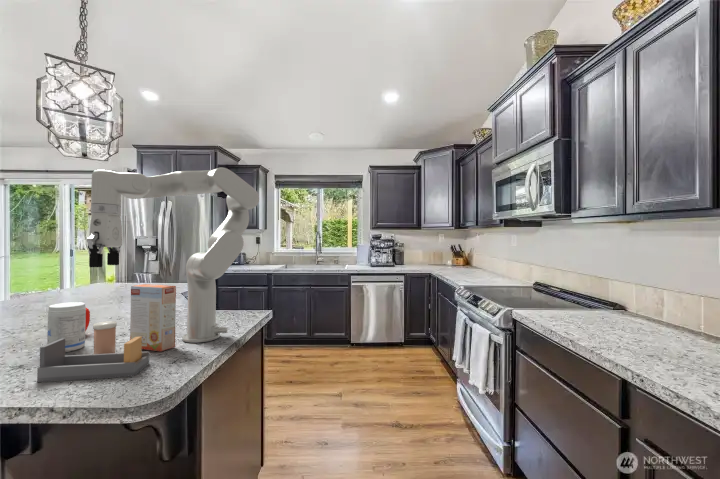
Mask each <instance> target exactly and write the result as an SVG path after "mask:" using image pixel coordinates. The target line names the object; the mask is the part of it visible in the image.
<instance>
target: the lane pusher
mask: <svg viewBox="0 0 720 479" xmlns="http://www.w3.org/2000/svg"><path fill="white" fill-rule="evenodd" d="M142 352H143V349H142V336H141V337H135V338H133V339H131V340H130V339H129V340H128V341H126V342H125V343H124V344H123V353H124V362H135V363H136V362H137V361H138V360H140V359H141V358H142Z"/></svg>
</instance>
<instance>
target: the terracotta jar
mask: <svg viewBox="0 0 720 479" xmlns="http://www.w3.org/2000/svg"><path fill="white" fill-rule="evenodd" d="M117 323H118V322H117V321H114V320H107V321H99V322H95V323H93V325H92V326H93V327H92V329H93V354H108V353H116V341H117V340H116V338H117V336H116V335H117V333H116V332H117V328H116V327H117V326H118V325H117Z"/></svg>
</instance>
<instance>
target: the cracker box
mask: <svg viewBox="0 0 720 479" xmlns="http://www.w3.org/2000/svg"><path fill="white" fill-rule="evenodd" d="M130 286H131V287H130V316H129V317H130V318H129V319H130V321H129V322H130V324H129V325H130V328H129V329H130V330H129V331H130V332H129V341H130V340H131V339H133V338H135V337H141V336H142V350H146V351H153V352H159V353H160V352H164V351H167V350H170V349H173V348H176V320H177V319H176V315H177V312H176V310H177V308H176V305H177V292H176V291H177V285H167V284H147V283H144V284H143V283H141V284H136V285H130Z"/></svg>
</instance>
